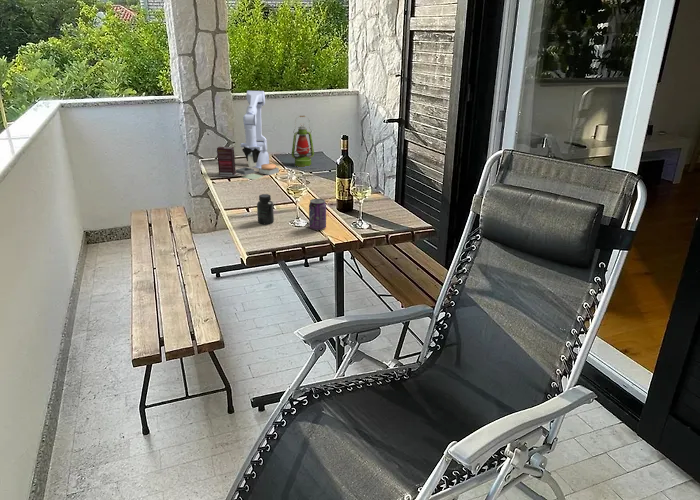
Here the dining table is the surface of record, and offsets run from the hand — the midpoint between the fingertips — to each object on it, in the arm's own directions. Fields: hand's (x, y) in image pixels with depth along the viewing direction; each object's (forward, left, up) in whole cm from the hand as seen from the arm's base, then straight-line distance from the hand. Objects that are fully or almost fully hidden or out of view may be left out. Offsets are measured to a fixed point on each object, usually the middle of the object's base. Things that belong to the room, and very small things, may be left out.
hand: (252, 161), depth 292 cm
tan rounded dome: (-12, +1, -8) cm, 15 cm away
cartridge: (0, 0, -2) cm, 2 cm away
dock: (-5, -11, -9) cm, 15 cm away
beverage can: (+42, +78, -9) cm, 89 cm away
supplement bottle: (+50, +56, -9) cm, 76 cm away
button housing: (-12, +1, -9) cm, 15 cm away
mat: (0, 0, -9) cm, 9 cm away
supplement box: (+6, -14, -9) cm, 18 cm away
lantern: (-38, +5, -9) cm, 39 cm away
